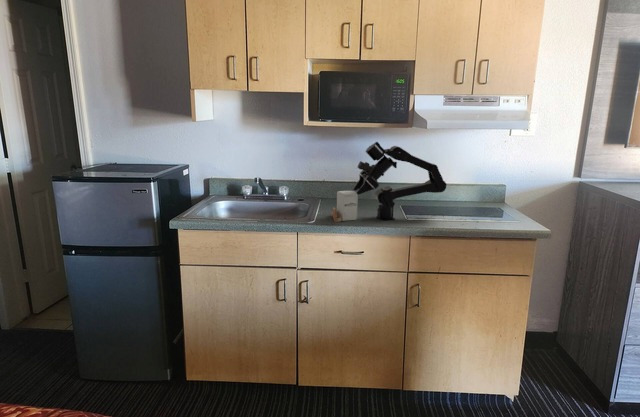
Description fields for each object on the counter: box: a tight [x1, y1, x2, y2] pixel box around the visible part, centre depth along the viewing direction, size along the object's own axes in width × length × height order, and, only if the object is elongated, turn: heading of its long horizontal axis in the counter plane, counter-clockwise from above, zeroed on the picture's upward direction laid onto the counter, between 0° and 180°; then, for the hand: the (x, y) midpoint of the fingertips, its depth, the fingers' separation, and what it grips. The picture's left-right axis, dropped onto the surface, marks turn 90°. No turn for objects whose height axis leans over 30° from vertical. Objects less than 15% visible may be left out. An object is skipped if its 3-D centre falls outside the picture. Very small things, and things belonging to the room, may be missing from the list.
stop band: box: [332, 207, 342, 223], centre depth 196 cm, size 3×11×4 cm, turn 4°
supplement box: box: [336, 190, 359, 222], centre depth 195 cm, size 7×7×13 cm
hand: (355, 191), depth 193 cm, fingers open, 9 cm apart
